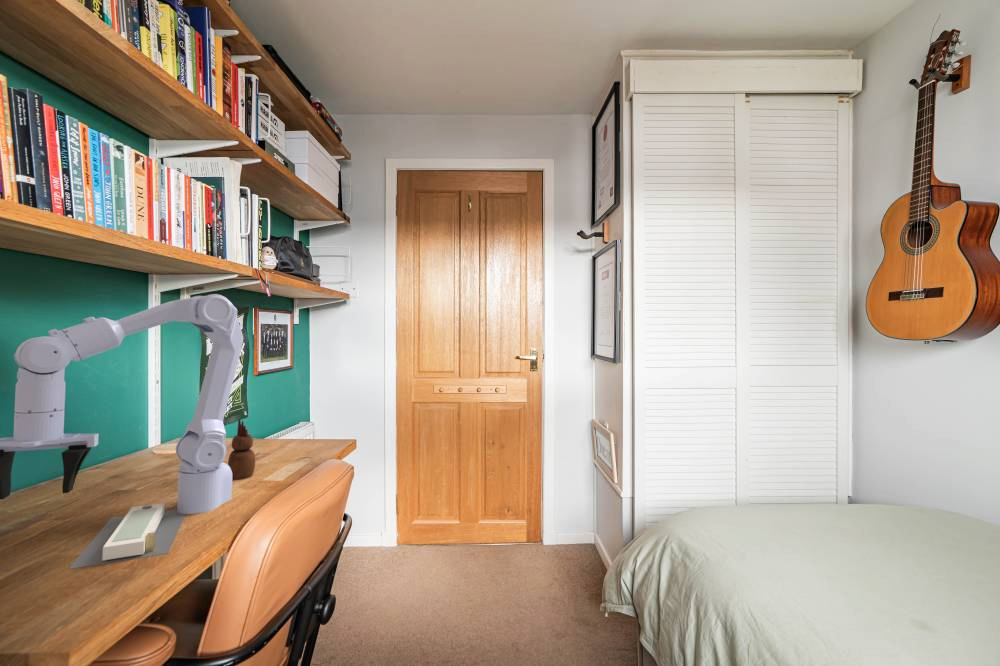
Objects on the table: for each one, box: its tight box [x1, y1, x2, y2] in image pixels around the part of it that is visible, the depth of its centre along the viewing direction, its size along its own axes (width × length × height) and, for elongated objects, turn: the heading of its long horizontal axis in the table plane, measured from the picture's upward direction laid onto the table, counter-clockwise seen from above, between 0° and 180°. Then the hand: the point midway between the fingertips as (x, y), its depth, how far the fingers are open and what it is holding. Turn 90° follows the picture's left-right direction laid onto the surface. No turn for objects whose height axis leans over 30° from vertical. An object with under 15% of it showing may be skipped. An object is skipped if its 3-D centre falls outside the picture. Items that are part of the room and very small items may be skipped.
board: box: [68, 508, 187, 570], centre depth 78 cm, size 21×12×4 cm, turn 27°
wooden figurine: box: [227, 418, 256, 480], centre depth 112 cm, size 7×6×15 cm
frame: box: [102, 502, 166, 561], centre depth 78 cm, size 18×5×2 cm, turn 28°
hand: (36, 494), depth 73 cm, fingers open, 7 cm apart
